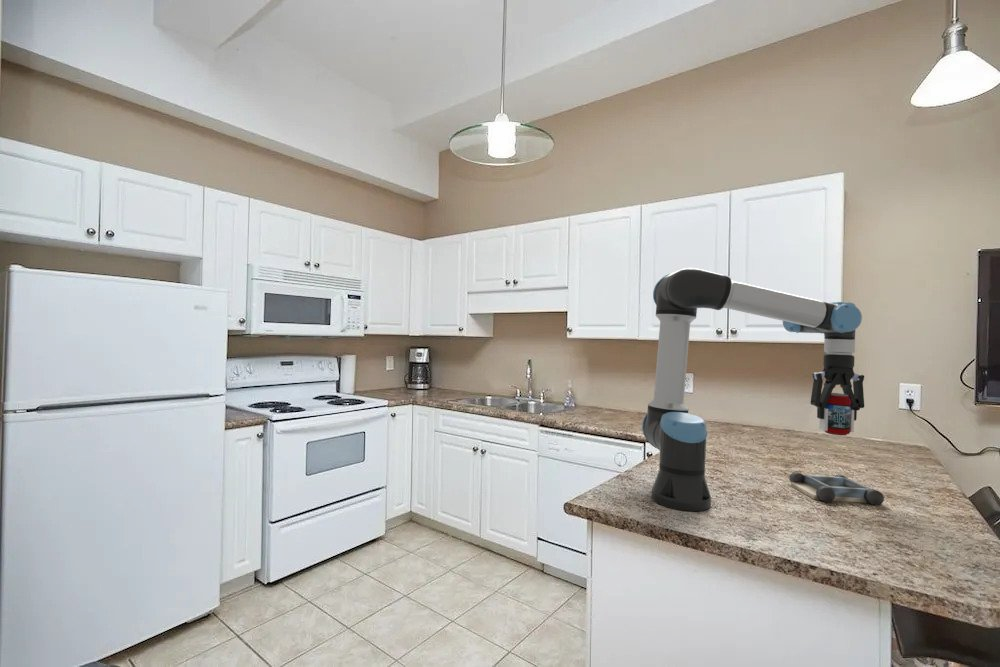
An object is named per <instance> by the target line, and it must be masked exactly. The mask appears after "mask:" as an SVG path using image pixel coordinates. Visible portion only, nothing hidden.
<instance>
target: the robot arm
mask: <svg viewBox="0 0 1000 667" xmlns="http://www.w3.org/2000/svg"><path fill="white" fill-rule="evenodd" d="M652 297H653V302H654V303H655V305H656V306H655V316H656V318H657V319H658V320H659V332H658V346H657V353H656V354H657V355H656V356H657V358H656V369H655V370H656V371H655V378H654V379H655V380H654V390H653V392H654V393H653V399H652V400H651V401H650V402H648V404H647V410H646V411H647V412H646V414H645V415H644V417H643V419H642V422H641V430H642V434H643V436H644V438H645V439H646V441H647V442H648V443H649V444H650V445H651V446H652V447H654V448H655V449H657V450H658V451H659V465H658V473H657V476H656V478H655V480H654V482H653V485H652V489H651V499H652V500H653V501H654V502H656V503H657V504H659V505H661V506H662V507H663V506H664V507H666V508H669V509H675V510H679V511H685V512H686V511H687V512H704V511H707V510H709V509H710V508H711V506H712V497H711V494H710V490H709V486H708V483H707V480H706V459H707V457H706V452H707V438H708V437H707V436H708V432H707V431H708V430H707V423H706V421H705V420H704V419H703V418H702V417H700V416H698V415H696V414H691V413H689V408H688V406H687V405H686V404H685V392H686V391H685V390H686V389H685V388H686V378H687V366H688V354H689V342H690V332H691V330H690V329H691V323H692V322H694V320H695V319H697V313H698V309H710V310H711V309H712V310H717V311H721V310H723V309H728V310H733V311H737V312H741V313H746V314H751V315H754V316H760V317H764V318H769V319H773V320H779V321H782V325H783V327H784V329H785V331H787V332H790V333H796V334H799V333H802V334H803V333H804V334H806V333H807V334H823V336H824V337H823V338H824V339H823V344H824V345H823V352H824V355H823V362H822V364H823V370H822V371H820V372H812V378H813V379H812V380H813V381H812V382H813V383H812V388H811V389H812V390H811V396H810V405H812V406H814V407H816V408H817V409H816V412H817V414H816V417H817V419H819V421H818V422H819V426H818V428H819V429H818V430H822V431H823V430H824V432H825V431H827V430H828V409H826V408H825V407H826V405H827V402H828V400H829V398H830V395H831V393H833V390H834V389H835V388H836V386H840V388H841V390H842V394H847V395H848V396H849V398H850V400H851V422H850V433H854V431H855V430H854V428H855V422H856V421H857V416H858V415H857V413H858V412H857V411H859V410H860V409H864V408H865V398H864V395H865V394H864V380H865V375H863V374H859V373H855V372H854V368H855V358H856V357H855V355H854V354H855V352H856V330H857V329H858V328H859V327H860V325H861V323H862V320H863V316H862V312H861V310H860V309H859V308H858V307H857V306H856V304H855V303H853V302H850V301H849V302H847V301H832V302H831V301H830V302H827V301H821V300H818V299H814V298H809V297H805V296H800V295H795V294H791V293H787V292H783V291H778V290H773V289H769V288H767V287H766V288H764V287H760V286H756V285H751V284H749V283H743V282H739V281H736V280H735V281H734V280H733V279H732V277H731V276H729V275H725V274H720V273H716V272H713V271H708V270H706V269H700V268H694V267H687V268H682V269H679V270H677V271H675V272H671V273H668V274H666V275H664V276H662V277H661V278H660V279H659V280H658V281H657V282H656V284H655V286H654V288H653V292H652ZM824 378H825V381H824V380H823V379H824ZM851 380H852V382H851ZM823 381H824V383H823ZM852 388H853V389H852Z"/></svg>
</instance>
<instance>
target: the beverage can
mask: <svg viewBox="0 0 1000 667" xmlns="http://www.w3.org/2000/svg"><path fill="white" fill-rule="evenodd" d="M825 408H826V409H828V430H827V431H824V430H822V431H824V433H825V434H828V435H834V436H840V437H841V436H847V435H849V434H851V432H850V422H851V400H850V398H849V396H848V395H847V394H844V393H838V392H832V393H831V395H830V398H829V400H828V402H827V405H826V407H825Z"/></svg>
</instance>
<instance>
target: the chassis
mask: <svg viewBox="0 0 1000 667" xmlns="http://www.w3.org/2000/svg"><path fill="white" fill-rule="evenodd" d="M789 481H790V487H792V488H793V489H795V490H797V491H799V492H801V493H802V494H804V495H806V496H807V497H809V498H811V499H812V500H817V501H822V502H825V503H832V502H833V501H834V502H836V501H837V502H847V503H849V502H850V503H851V502H852V503H865V504H866V503H868V504H872V505H873V506H880V505H881V504H883V503H884V501H885V496H884V494H883V493H882V492H881V491H879V490H877V489H874V488H870V487H868V486H865V485H863V484H861V483H859V482H857V481H854V480H852V479H850V478H848V477H847V476H846V475H842V474H839V473H838V474H836V475H833V476H829V475H828V476H827V475H809V474H802V473H801V472H798V471H793V472H792V473H791V474H790V475H789Z"/></svg>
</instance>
